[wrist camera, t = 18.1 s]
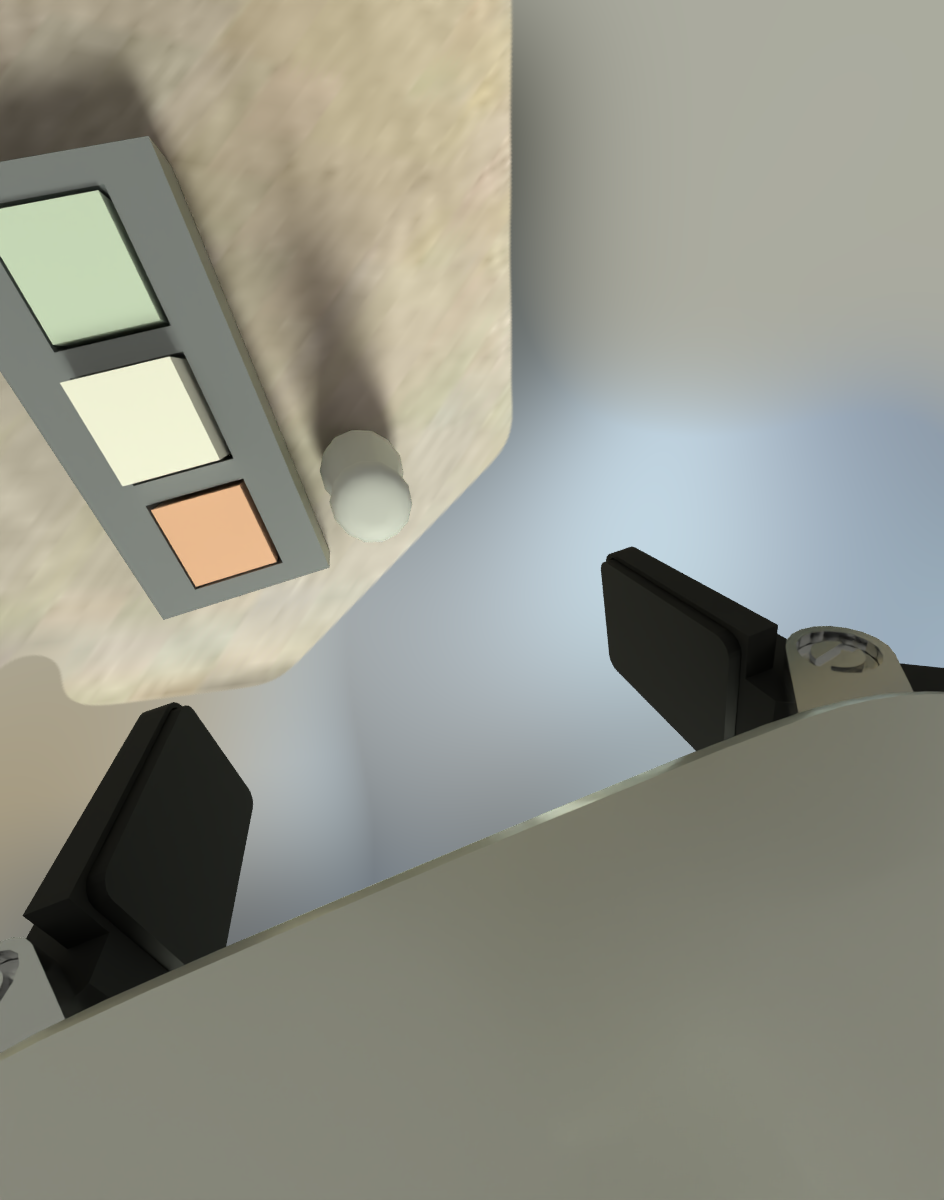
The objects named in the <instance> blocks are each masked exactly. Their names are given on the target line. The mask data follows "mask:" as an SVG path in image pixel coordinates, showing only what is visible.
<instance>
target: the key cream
mask: <svg viewBox="0 0 944 1200" xmlns="http://www.w3.org/2000/svg"><path fill="white" fill-rule="evenodd" d="M60 384H61V386H62V387H63V389H64V391H65V392H66V394H67V395H68V397H69V399H70V400H71V402H72V404H73V405H74V407H75V409H76V410H77V412H78V414H79V415H80V417H81V419H82V420H83V422H84V424H85V425H86V427H87V428H88V430H89V432H90V433H91V435H92V437H93V438H94V440H95V442H96V443H97V445H98V447H99V448H100V450H101V452H102V453H103V455H104V457H105V458H106V460H107V461H108V463H109V465H110V466H111V468H112V470H113V471H114V473H115V475H116V476H117V478H118V480H119V481H120V483H121V485H122V486H126V485H130V484H134V483H137V482H141V481H145V480H148V479H152V478H155V477H159V476H163V475H166V474H170V473H174V472H177V471H181V470H185V469H188V468H192V467H196V466H199V465H203V464H207V463H210V462H214V461H218V460H220V459H222V458H223V457H225V456H227V455H228V454H230V453H231V452H230V450H229V448H228V445H227V443H226V441H225V439H224V437H223V435H222V433H221V431H220V428H219V426H218V424H217V422H216V420H215V418H214V416H213V414H212V412H211V409H210V407H209V405H208V403H207V401H206V399H205V397H204V395H203V392H202V390H201V388H200V386H199V384H198V382H197V380H196V378H195V376H194V373H193V371H192V369H191V367H190V365H189V363H188V361H187V359H181V358H176V357H170V356H169V357H165V358H161V359H157V360H153V361H149V362H144V363H140V364H136V365H132V366H128V367H124V368H119V369H115V370H111V371H107V372H103V373H99V374H94V375H90V376H86V377H82V378H78V379H74V380H69V381H65V382H61V383H60Z"/></svg>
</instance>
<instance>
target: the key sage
mask: <svg viewBox="0 0 944 1200" xmlns="http://www.w3.org/2000/svg"><path fill="white" fill-rule="evenodd" d="M0 256H1V258H2V259H3V261H4V263H5V264H6V266H7V268H8V270H9V271H10V273H11V275H12V276H13V278H14V280H15V281H16V283H17V285H18V286H19V288H20V290H21V292H22V293H23V295H24V297H25V298H26V300H27V302H28V303H29V305H30V307H31V308H32V310H33V312H34V314H35V315H36V317H37V319H38V320H39V322H40V324H41V325H42V327H43V329H44V330H45V332H46V334H47V336H48V337H49V339H50V341H51V342H52V344H53V345H59V346H66V347H73V348H76V347H81V346H85V345H89V344H94V343H98V342H102V341H107V340H111V339H115V338H120V337H124V336H128V335H133V334H137V333H141V332H146V331H150V330H154V329H159V328H163V327H167V326H171V325H170V323H169V320H168V318H167V316H166V314H165V312H164V310H163V308H162V306H161V303H160V301H159V299H158V297H157V295H156V293H155V291H154V289H153V286H152V284H151V282H150V280H149V278H148V276H147V274H146V272H145V270H144V267H143V265H142V263H141V261H140V259H139V257H138V255H137V253H136V250H135V248H134V246H133V244H132V242H131V240H130V238H129V236H128V233H127V231H126V229H125V227H124V225H123V223H122V221H121V219H120V217H119V214H118V212H117V210H116V208H115V206H114V204H113V202H112V201H111V200H110V199H108V198H107V197H106V196H105V195H104V194H102V193H101V192H100V191H99V190H97V191H91V192H86V193H81V194H75V195H70V196H65V197H60V198H54V199H49V200H44V201H38V202H33V203H28V204H22V205H17V206H12V207H6V208H1V209H0Z"/></svg>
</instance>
